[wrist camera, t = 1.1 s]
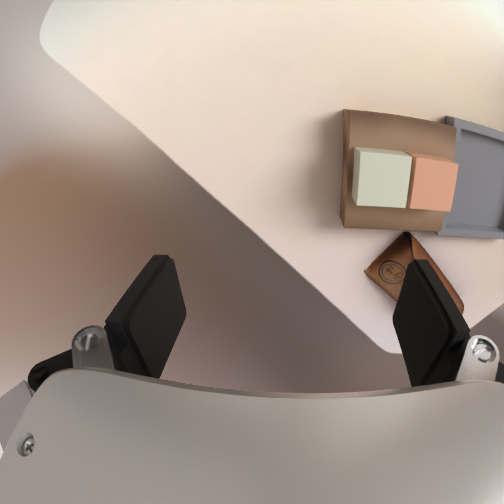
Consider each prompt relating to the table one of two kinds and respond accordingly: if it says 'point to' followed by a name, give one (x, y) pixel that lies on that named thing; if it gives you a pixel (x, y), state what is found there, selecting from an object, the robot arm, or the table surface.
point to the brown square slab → (399, 139)
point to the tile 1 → (431, 182)
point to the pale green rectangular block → (380, 177)
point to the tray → (477, 183)
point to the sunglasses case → (403, 267)
